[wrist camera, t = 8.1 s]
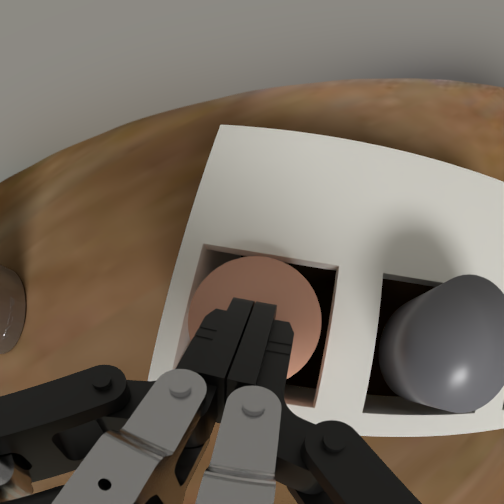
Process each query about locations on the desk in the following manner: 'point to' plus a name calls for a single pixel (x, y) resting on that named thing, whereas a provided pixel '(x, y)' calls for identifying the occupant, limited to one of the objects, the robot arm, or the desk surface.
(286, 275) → the terracotta button
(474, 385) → the charcoal button
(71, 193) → the desk surface
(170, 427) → the robot arm
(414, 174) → the button console
